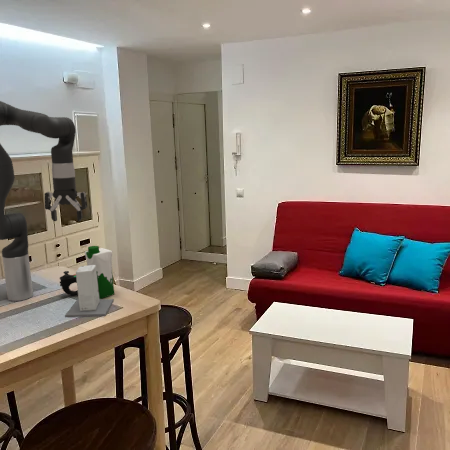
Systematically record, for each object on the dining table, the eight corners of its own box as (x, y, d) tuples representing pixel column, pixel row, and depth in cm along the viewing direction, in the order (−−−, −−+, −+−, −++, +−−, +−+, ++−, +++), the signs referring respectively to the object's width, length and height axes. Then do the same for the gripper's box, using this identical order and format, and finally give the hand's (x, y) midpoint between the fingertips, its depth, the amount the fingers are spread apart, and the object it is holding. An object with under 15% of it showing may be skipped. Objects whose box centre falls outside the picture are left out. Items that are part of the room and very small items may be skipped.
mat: (76, 301, 173) (76, 300, 173) (113, 300, 173) (113, 299, 173) (65, 317, 159) (65, 315, 159) (105, 316, 160) (105, 313, 159)
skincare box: (96, 310, 162) (92, 271, 159) (78, 311, 162) (75, 271, 159) (99, 301, 170) (96, 263, 167) (83, 302, 170) (80, 264, 167)
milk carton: (86, 295, 180) (81, 246, 175) (105, 289, 186) (102, 241, 182) (98, 300, 174) (94, 250, 169) (118, 294, 180) (114, 245, 176)
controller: (60, 295, 180) (58, 271, 178) (92, 290, 185) (90, 266, 183) (61, 298, 176) (59, 274, 174) (94, 293, 181) (92, 269, 179)
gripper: (39, 177, 155) (43, 223, 159) (81, 177, 156) (84, 223, 159) (46, 174, 163) (50, 218, 166) (87, 174, 163) (90, 218, 167)
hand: (67, 220), depth 163 cm, fingers open, 8 cm apart
